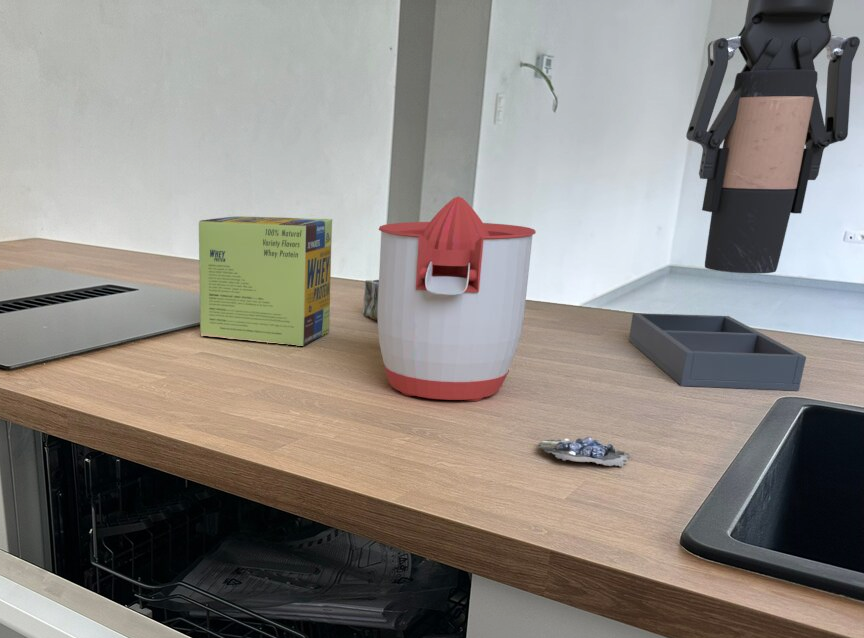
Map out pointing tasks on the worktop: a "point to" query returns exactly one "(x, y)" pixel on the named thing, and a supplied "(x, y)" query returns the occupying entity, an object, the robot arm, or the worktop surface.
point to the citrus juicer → (451, 303)
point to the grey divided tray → (716, 352)
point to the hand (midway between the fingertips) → (750, 211)
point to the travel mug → (761, 170)
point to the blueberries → (585, 451)
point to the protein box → (265, 278)
